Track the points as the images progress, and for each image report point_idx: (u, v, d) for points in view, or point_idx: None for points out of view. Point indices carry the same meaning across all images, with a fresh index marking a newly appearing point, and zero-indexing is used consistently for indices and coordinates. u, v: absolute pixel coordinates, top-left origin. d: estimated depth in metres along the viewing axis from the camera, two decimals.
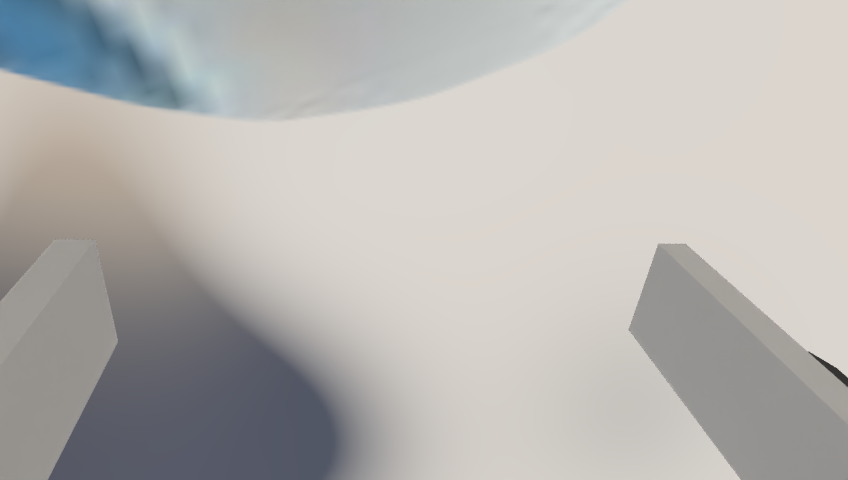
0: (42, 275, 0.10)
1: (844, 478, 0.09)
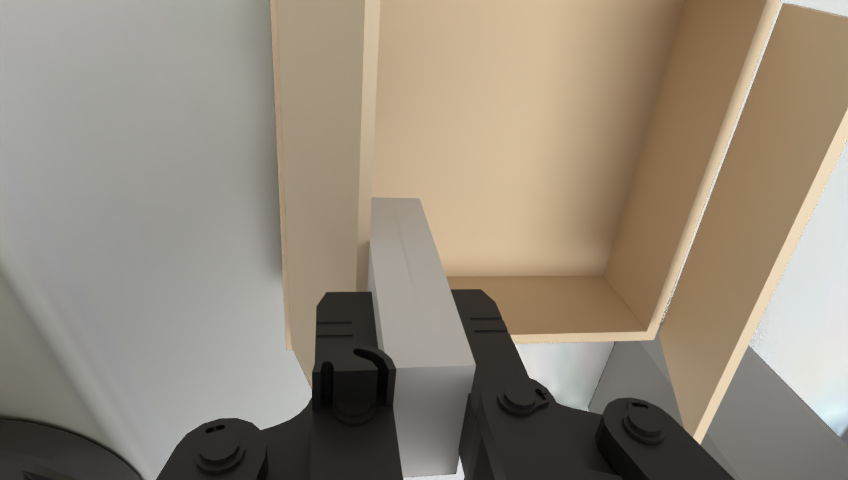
0: (380, 221, 0.13)
1: None
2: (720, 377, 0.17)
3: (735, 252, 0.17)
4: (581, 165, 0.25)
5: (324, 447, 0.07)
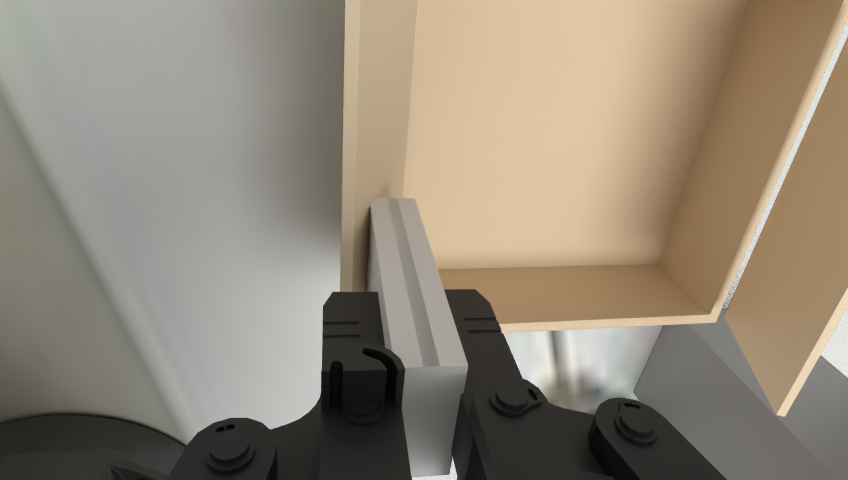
0: (386, 221, 0.13)
1: None
2: (811, 350, 0.18)
3: (820, 236, 0.19)
4: (645, 160, 0.26)
5: (333, 446, 0.08)
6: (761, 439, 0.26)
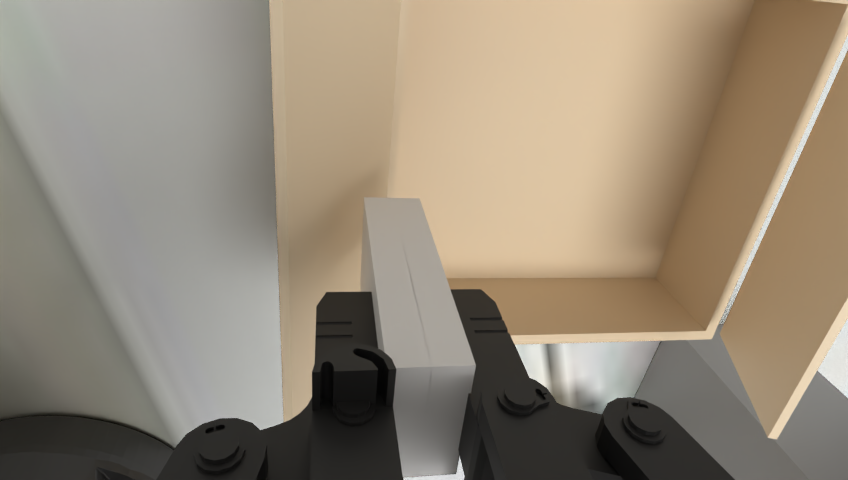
0: (380, 221, 0.13)
1: None
2: (804, 372, 0.18)
3: (816, 255, 0.18)
4: (642, 172, 0.26)
5: (324, 447, 0.07)
6: (756, 460, 0.25)
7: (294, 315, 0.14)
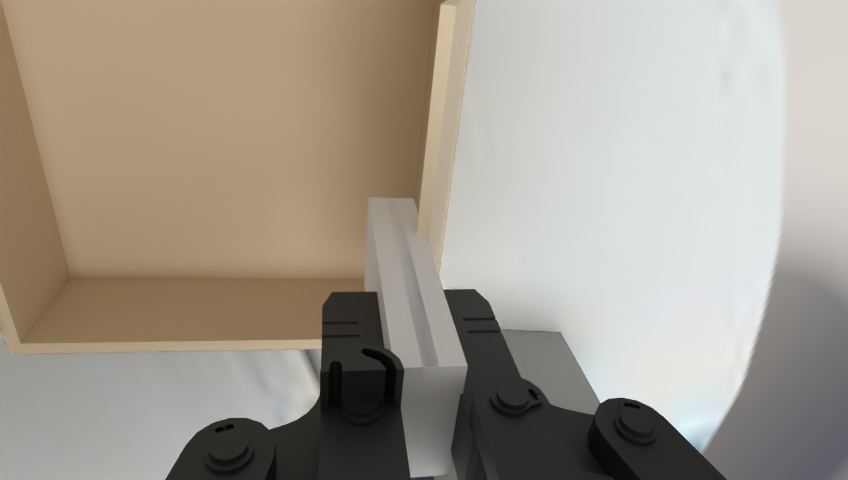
0: (385, 221, 0.13)
1: None
2: None
3: None
4: (357, 162, 0.23)
5: (332, 446, 0.08)
6: None
7: None
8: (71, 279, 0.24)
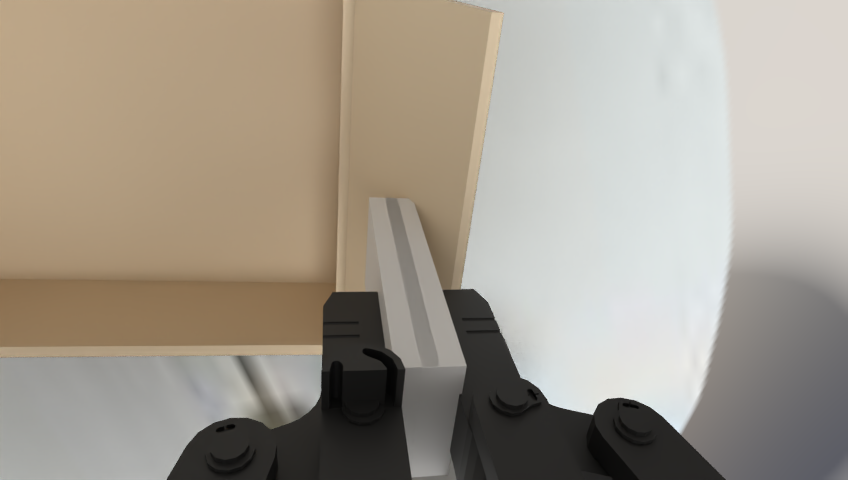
0: (386, 221, 0.13)
1: None
2: None
3: None
4: (274, 162, 0.23)
5: (333, 446, 0.08)
6: None
7: None
8: None
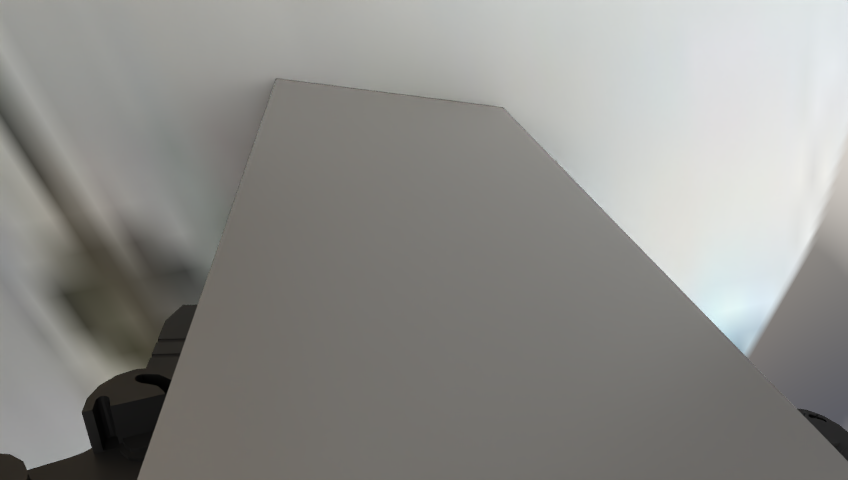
0: None
1: None
2: None
3: None
4: None
5: None
6: None
7: None
8: None
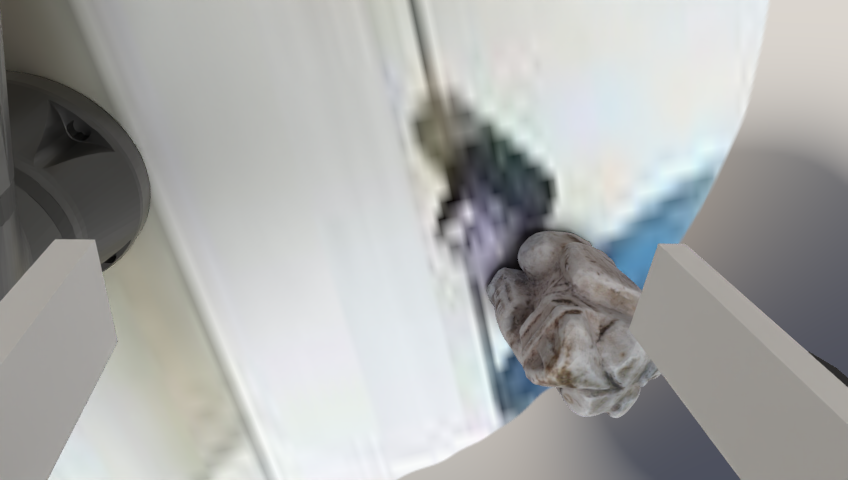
0: (41, 275, 0.10)
1: (844, 478, 0.09)
2: None
3: None
4: None
5: None
6: None
7: None
8: None
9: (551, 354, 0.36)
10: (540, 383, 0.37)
